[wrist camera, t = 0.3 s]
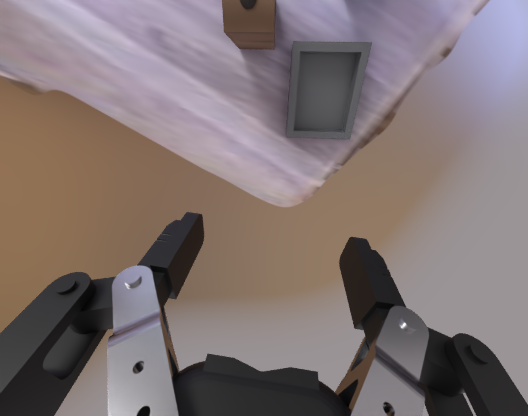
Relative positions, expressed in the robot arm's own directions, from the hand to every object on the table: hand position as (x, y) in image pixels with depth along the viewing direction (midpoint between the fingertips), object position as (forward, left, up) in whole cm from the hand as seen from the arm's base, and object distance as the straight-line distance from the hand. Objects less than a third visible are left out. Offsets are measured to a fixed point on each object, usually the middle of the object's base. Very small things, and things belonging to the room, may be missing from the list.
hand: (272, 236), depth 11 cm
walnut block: (-14, -3, -28) cm, 31 cm away
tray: (-6, +7, -28) cm, 29 cm away
